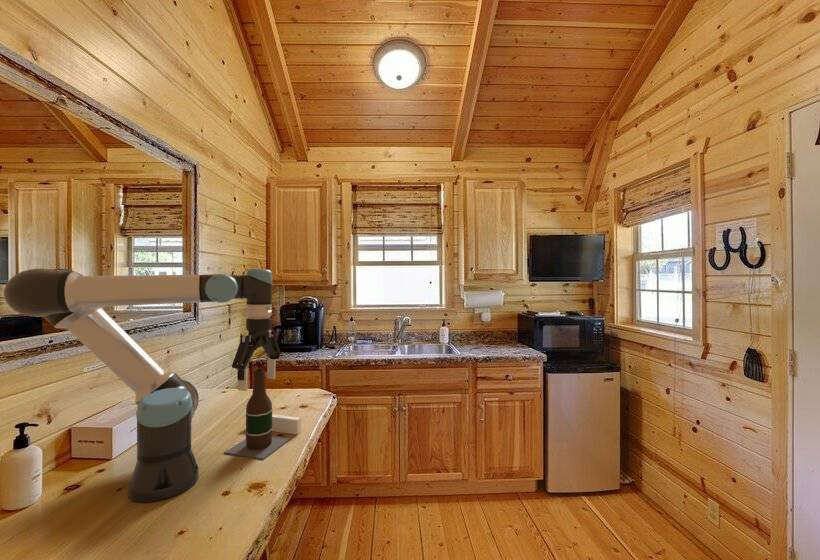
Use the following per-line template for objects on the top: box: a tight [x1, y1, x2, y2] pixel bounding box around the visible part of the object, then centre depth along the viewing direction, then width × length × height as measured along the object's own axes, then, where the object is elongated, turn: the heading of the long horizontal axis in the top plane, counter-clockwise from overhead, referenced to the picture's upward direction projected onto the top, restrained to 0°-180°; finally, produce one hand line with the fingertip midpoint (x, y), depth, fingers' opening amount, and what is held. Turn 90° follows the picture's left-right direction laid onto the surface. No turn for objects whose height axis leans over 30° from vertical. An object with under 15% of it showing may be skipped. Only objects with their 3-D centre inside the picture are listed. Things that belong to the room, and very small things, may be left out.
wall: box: [272, 413, 302, 435], centre depth 127 cm, size 2×20×5 cm, turn 75°
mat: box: [223, 435, 292, 461], centre depth 115 cm, size 14×14×1 cm
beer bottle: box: [245, 368, 273, 450], centre depth 115 cm, size 8×8×24 cm
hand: (257, 384), depth 115 cm, fingers open, 13 cm apart
